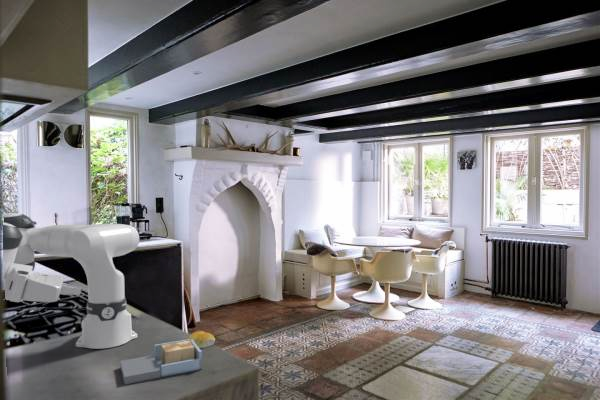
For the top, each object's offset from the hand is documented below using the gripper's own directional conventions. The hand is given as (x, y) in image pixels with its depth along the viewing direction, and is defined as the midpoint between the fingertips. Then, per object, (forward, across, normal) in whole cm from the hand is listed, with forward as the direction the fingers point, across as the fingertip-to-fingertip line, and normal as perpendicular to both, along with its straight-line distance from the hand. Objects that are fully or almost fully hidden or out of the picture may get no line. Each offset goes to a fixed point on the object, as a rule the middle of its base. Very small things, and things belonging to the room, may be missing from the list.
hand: (80, 291), depth 112 cm
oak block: (+25, -1, -15) cm, 30 cm away
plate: (+20, -1, -20) cm, 28 cm away
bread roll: (+40, -15, -14) cm, 45 cm away
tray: (+30, -1, -17) cm, 34 cm away
